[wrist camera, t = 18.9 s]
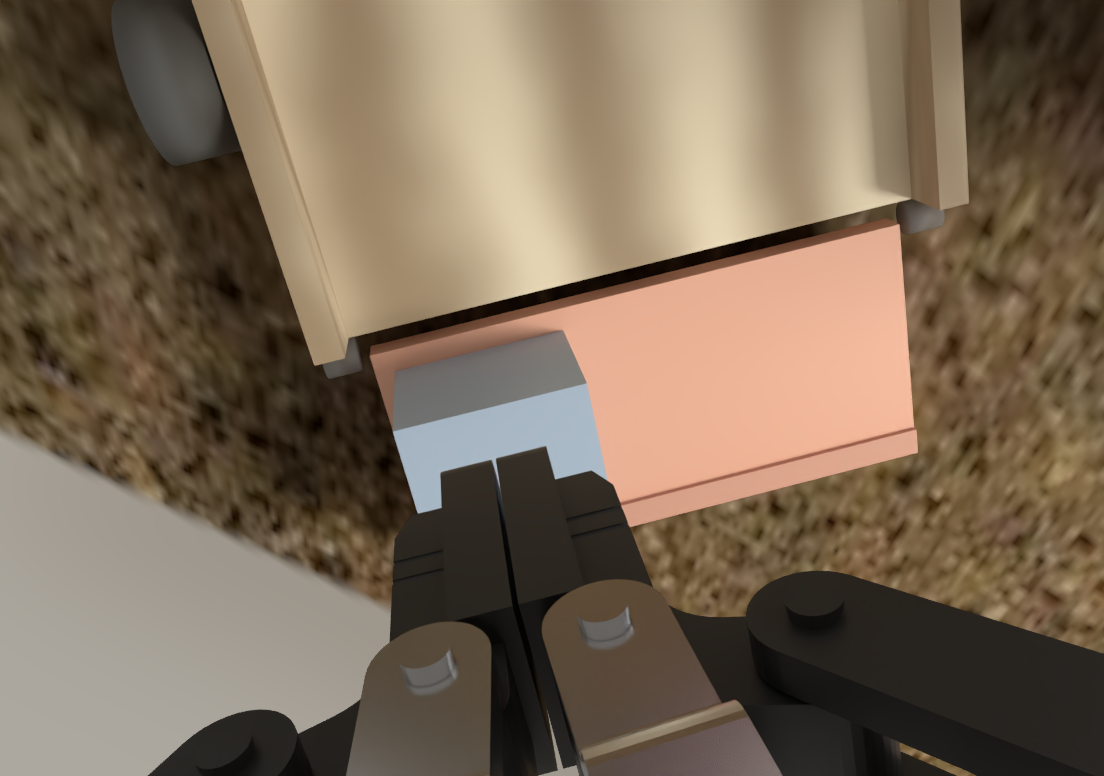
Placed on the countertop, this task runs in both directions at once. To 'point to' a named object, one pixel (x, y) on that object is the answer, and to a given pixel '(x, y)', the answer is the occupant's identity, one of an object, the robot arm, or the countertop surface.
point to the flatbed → (543, 134)
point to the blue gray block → (494, 413)
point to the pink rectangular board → (726, 368)
